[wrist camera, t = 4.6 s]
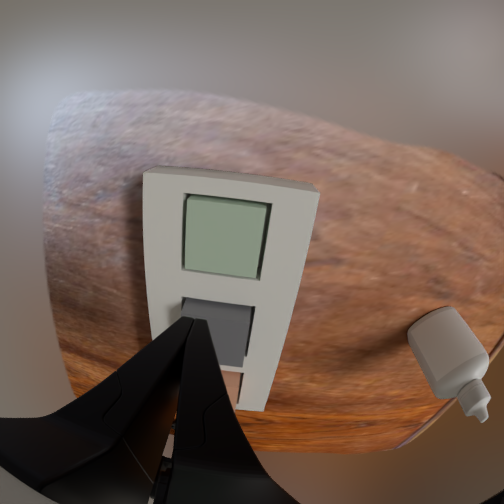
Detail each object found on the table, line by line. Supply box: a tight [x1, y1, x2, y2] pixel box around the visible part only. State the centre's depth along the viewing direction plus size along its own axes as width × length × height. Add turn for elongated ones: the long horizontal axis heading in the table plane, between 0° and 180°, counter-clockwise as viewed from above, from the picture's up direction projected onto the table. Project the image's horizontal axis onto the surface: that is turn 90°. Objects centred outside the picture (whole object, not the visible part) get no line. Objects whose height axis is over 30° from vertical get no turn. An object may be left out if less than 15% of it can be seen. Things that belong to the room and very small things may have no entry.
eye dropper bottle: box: [407, 306, 490, 423], centre depth 17 cm, size 4×6×12 cm
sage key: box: [185, 194, 266, 278], centre depth 17 cm, size 4×4×2 cm
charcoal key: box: [181, 297, 251, 368], centre depth 19 cm, size 4×4×2 cm
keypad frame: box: [143, 166, 320, 411], centre depth 20 cm, size 21×10×3 cm, turn 173°
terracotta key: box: [221, 370, 240, 413], centre depth 22 cm, size 4×4×2 cm
